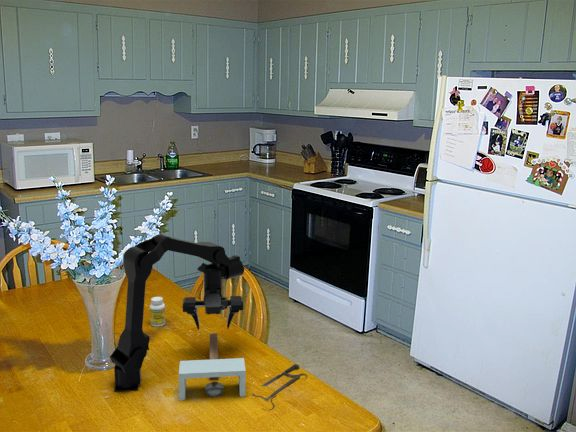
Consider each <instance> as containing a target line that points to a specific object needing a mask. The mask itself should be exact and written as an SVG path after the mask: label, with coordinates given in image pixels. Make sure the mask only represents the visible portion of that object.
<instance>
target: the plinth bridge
mask: <svg viewBox="0 0 576 432" xmlns="http://www.w3.org/2000/svg"><path fill="white" fill-rule="evenodd" d="M245 363H246V362H245V358H244V357H237V358H234V357H233V358H218V359H212V360H210V359H195V360H193V359H192V360H191V359H190V360H180V361H179V367H178V394H179V395H178V396H179V398H178V399H179V401H185V400H186V392H187V379H202V378H204V379H206V378H210V377H218V378H222V377H223V378H224V377H225V378H226V377H238V388H239V389H238V390H239V398H243V397H246V364H245Z"/></svg>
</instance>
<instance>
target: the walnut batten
mask: <svg viewBox="0 0 576 432" xmlns="http://www.w3.org/2000/svg"><path fill="white" fill-rule="evenodd" d="M218 342H219V340H218V332H217V333H215V332H214V333H209V360H212V359H219V343H218ZM219 378H220V377H209V381H219Z"/></svg>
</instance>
